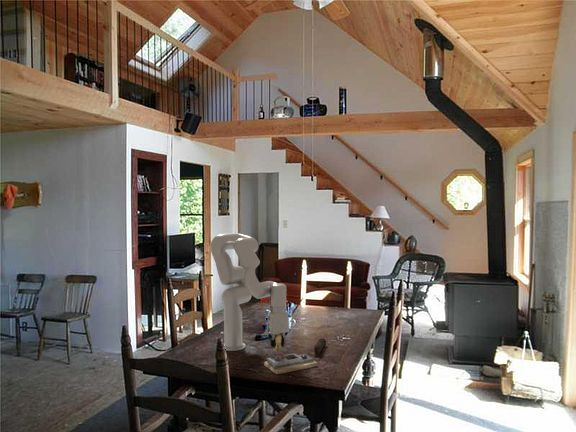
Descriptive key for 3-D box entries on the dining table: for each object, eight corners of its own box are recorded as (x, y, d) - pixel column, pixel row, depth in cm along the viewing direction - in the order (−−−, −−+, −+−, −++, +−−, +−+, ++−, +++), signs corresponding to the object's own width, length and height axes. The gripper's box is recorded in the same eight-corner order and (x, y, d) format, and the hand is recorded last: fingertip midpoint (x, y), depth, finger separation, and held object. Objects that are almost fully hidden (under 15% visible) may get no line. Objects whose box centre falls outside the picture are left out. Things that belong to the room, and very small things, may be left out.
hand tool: (318, 345, 227) (318, 336, 227) (326, 345, 226) (326, 337, 226) (309, 357, 209) (309, 347, 209) (317, 357, 208) (317, 348, 208)
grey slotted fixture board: (267, 363, 195) (267, 356, 195) (305, 356, 205) (305, 349, 205) (274, 368, 188) (274, 361, 188) (313, 361, 198) (313, 354, 198)
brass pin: (271, 349, 209) (272, 333, 208) (279, 348, 210) (279, 332, 210) (275, 352, 205) (275, 335, 205) (282, 351, 207) (283, 334, 207)
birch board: (264, 365, 197) (264, 361, 197) (303, 357, 207) (303, 354, 207) (276, 374, 186) (276, 371, 186) (317, 366, 196) (317, 362, 196)
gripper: (265, 312, 200) (264, 351, 201) (297, 309, 208) (296, 346, 208) (259, 309, 207) (258, 346, 207) (289, 305, 214) (288, 341, 215)
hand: (277, 346), depth 208 cm, fingers closed on brass pin, 4 cm apart
